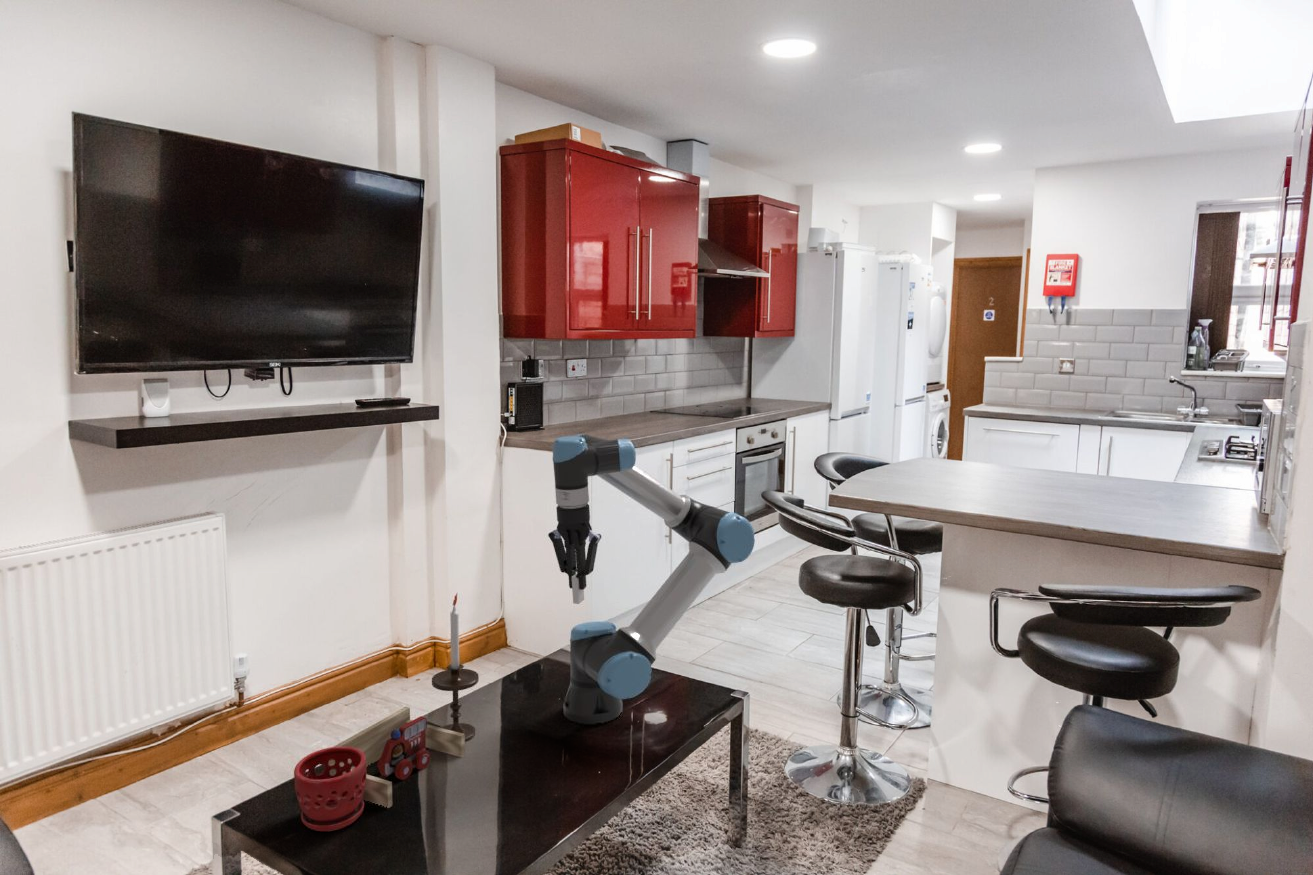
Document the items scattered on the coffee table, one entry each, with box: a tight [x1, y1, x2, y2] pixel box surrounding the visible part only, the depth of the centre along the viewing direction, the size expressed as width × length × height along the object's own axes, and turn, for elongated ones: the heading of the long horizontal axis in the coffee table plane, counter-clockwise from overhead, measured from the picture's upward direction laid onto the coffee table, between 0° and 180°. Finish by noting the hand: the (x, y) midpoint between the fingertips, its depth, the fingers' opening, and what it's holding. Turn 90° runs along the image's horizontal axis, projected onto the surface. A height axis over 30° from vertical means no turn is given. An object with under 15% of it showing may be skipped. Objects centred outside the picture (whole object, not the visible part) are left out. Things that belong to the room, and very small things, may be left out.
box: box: [328, 706, 466, 809], centre depth 180 cm, size 17×24×8 cm
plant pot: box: [293, 746, 368, 832], centre depth 161 cm, size 13×13×12 cm
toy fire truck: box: [377, 716, 431, 780], centre depth 180 cm, size 7×12×10 cm, turn 149°
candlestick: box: [431, 593, 479, 743], centre depth 195 cm, size 11×11×35 cm
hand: (578, 601), depth 192 cm, fingers closed
